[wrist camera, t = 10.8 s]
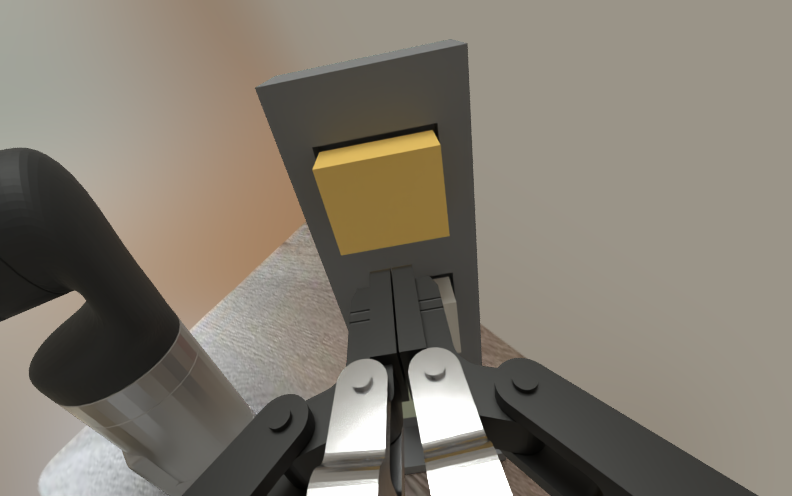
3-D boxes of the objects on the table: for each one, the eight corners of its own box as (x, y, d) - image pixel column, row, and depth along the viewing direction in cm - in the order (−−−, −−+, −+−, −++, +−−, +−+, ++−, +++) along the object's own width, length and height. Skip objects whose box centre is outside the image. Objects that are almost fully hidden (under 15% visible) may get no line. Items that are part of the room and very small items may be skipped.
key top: (449, 235, 18) (440, 144, 15) (341, 255, 18) (312, 169, 15) (441, 213, 20) (432, 129, 17) (344, 231, 20) (319, 152, 17)
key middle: (461, 352, 24) (456, 302, 21) (378, 365, 24) (362, 317, 21) (454, 325, 26) (448, 276, 23) (377, 338, 26) (363, 291, 23)
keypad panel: (505, 460, 31) (518, 43, 12) (380, 478, 32) (202, 109, 13) (481, 379, 38) (464, 34, 19) (379, 395, 39) (262, 77, 20)
